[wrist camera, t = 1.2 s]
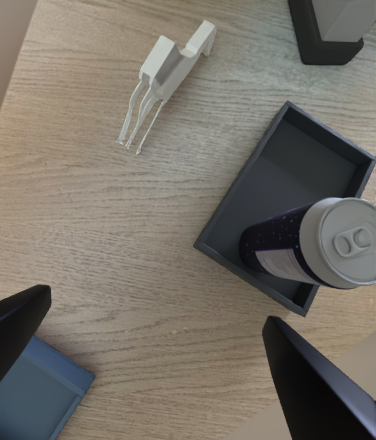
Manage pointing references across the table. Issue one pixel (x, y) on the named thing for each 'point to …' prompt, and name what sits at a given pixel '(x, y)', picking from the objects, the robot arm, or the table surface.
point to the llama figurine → (166, 74)
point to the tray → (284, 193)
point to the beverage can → (316, 244)
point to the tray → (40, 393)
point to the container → (331, 28)
